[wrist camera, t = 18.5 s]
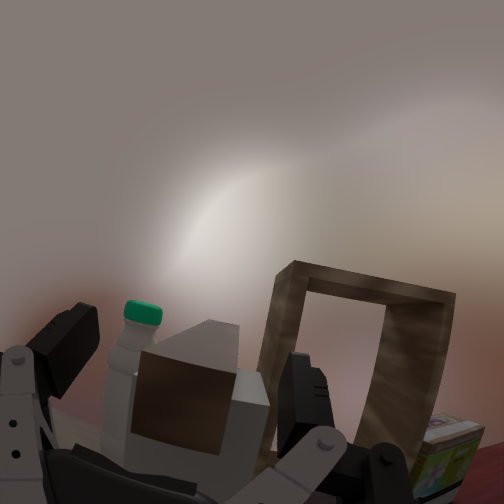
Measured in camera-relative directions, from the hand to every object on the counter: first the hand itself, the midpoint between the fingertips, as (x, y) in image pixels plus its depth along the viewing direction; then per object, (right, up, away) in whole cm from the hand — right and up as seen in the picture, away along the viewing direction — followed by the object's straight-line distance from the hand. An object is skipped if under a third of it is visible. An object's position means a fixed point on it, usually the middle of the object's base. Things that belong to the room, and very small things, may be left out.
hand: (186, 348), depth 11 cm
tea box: (+26, -35, +17) cm, 47 cm away
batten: (-1, -5, +8) cm, 9 cm away
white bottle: (-15, -27, +19) cm, 36 cm away
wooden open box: (+8, -31, +16) cm, 36 cm away
